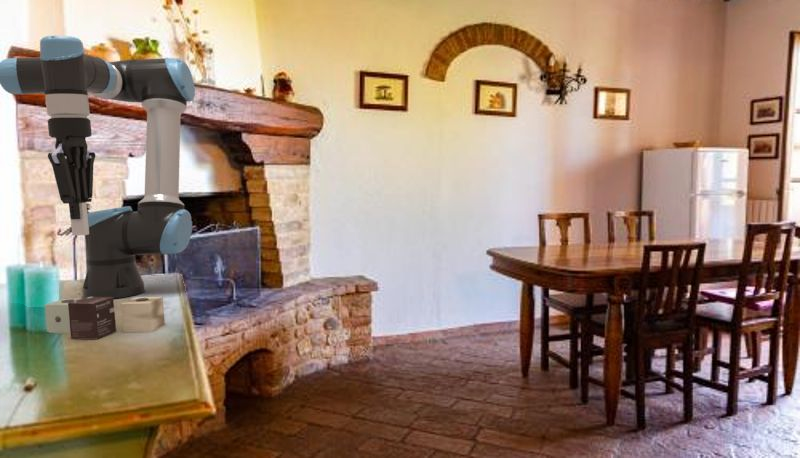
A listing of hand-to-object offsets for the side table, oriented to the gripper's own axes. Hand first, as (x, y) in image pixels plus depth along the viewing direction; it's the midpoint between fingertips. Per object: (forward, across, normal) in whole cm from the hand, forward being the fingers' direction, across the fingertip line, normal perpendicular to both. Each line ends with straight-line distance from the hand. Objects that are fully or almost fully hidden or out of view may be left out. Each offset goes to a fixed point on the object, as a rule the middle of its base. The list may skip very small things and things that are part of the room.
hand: (80, 234), depth 123 cm
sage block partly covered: (+20, -1, -5) cm, 21 cm away
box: (+20, +4, +3) cm, 21 cm away
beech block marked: (+20, -1, +11) cm, 23 cm away
